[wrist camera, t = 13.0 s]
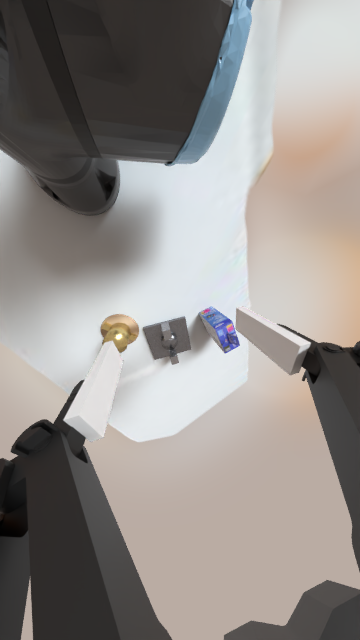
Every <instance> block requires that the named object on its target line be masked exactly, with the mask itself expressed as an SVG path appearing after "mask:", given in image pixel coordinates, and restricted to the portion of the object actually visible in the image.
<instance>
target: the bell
mask: <svg viewBox="0 0 360 640" xmlns="http://www.w3.org/2000/svg"><path fill="white" fill-rule="evenodd" d="M101 329H104V330H106V331H108V333H107V335H106V336H105V338H104V340H103V343H102V344H103V345H104V343H105V342H109V341H113V342H114V344H115V346H116V348H117V350H118V351H119V353H121V352H123V351H124V350H125V349H126V348H127V344H128V340H129V339H130V340H132V341H134V340H135V339H136V337H137V335H136V334H133V333H131V330H130V327H129V326H128V325H126V324H125V323H120V322H119V323H115V324H113V325H111V324H109V323H107V322H105V323H104V324H103V326H102V328H101Z"/></svg>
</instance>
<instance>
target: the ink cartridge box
mask: <svg viewBox="0 0 360 640" xmlns="http://www.w3.org/2000/svg"><path fill="white" fill-rule="evenodd" d="M199 315H200V317H201V319H202V321H203V323H204V326H205V328H206V330H207V332H208V333H209V335H210V336H211V337H212V338H213V340H214V341H215V342H216V343H217V345H218V346H219V347H220V348H221V349H222V351H223V352H224V353H227V352H229V351H231V350H233V349H235V348H236V347H238V346H240V344H239V341H238V337H237V335H236V332H235V329H234V326H233V323H232V321H231V320H230V319H228V318H227V317H226V316H224V315H223V314H222V313H220V312H219V311H217V310H216V309H215V308H213V307H209V308H207V309H205V310H203V311H201V312H200V313H199Z"/></svg>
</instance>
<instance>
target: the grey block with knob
mask: <svg viewBox="0 0 360 640" xmlns="http://www.w3.org/2000/svg"><path fill="white" fill-rule="evenodd" d="M143 329H144V331H145V334H146V337H147V339H148V342H149V345H150V347H151V350H152V352H153V355H154V358H155V360H156V359H159V358H163V357H166V356H170V359H171V363H172V365H173V364H177V363H179V361H178V357H177V353H180V352H184V351H187V350H190V349H191V347H190V341H189V336H188V330H187V325H186V319H185V316H184V317H180V318H177V319H173V320H169V321H165V322H161V323H157V324H154V325H150V326H146V327H144V328H143Z"/></svg>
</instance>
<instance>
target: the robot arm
mask: <svg viewBox="0 0 360 640" xmlns="http://www.w3.org/2000/svg"><path fill="white" fill-rule="evenodd" d="M253 1H254V0H0V150H2V151H3V152H4V153H6V154H7V155H9V156H10V157H12V158H13V159H14V160H16V161H17V162H19V163H20V164H21V165H23V166H24V167H25V168H26V170H27V171H28V172H29V174H30V175H31V176H32V178H33V179H34V180H35V181H36V182H37V184H38V185H39V186H40V187H41V188H42V189H43V190H44V191H45V192H46V193H47V194H48V195H49V196H51V197H52V198H53V199H54V200H56V201H57V202H59V203H60V204H62V205H63V206H65V207H67V208H68V209H70V210H72V211H75V212H77V213H80V214H84V215H97V214H101V213H103V212H105V211H106V210H108V209H109V208H110V207H111V206H112V205H113V203H114V202H115V200H116V198H117V195H118V192H119V186H120V173H119V166H118V161H117V160H122V161H136V162H149V163H163V164H165V165H166V166H172V165H174V164H192V163H195V162H197V161H198V160H199V159H200V158H201V157H202V156H203V155H204V154H205V153H206V152H207V150H208V149H209V147H210V146H211V144H212V142H213V140H214V138H215V136H216V134H217V132H218V130H219V128H220V125H221V123H222V120H223V118H224V115H225V112H226V110H227V107H228V104H229V101H230V98H231V96H232V92H233V89H234V86H235V83H236V80H237V76H238V73H239V70H240V66H241V63H242V59H243V55H244V51H245V47H246V43H247V39H248V35H249V31H250V26H251V22H252V16H251V12H250V10H251V7H252V4H253ZM236 330H237V331H238V332H240V333H241V334H242V335H243V336H244V337H245V338H247V339H248V340H249V341H250V342H251V343H252V344H254V345H255V346H256V347H257V348H258V349H259V350H261V351H262V352H263V353H264V354H265V355H267V356H268V357H269V358H270V359H271V360H272V361H274V362H275V363H276V364H277V365H278V366H279V367H281V368H282V369H283V370H284V371H285V372H287V373H288V374H289V375H293V374H295V373H299V371H300V369H301V366H302V367H303V368H305V369H306V371H305V373H304V375H303V378H302V381H305V378H307V382H308V384H309V387H310V390H311V394H312V397H313V400H314V403H315V406H316V409H317V412H318V416H319V419H320V422H321V425H322V428H323V431H324V434H325V437H326V441H327V444H328V447H329V450H330V453H331V456H332V460H333V463H334V466H335V469H336V472H337V475H338V479H339V482H340V485H341V488H342V491H343V494H344V498H345V501H346V504H347V507H348V510H349V513H350V517H351V520H352V545H353V549H354V553H355V557H356V560H357V564H358V567H359V571H360V341H359V342H357V343H356V345H355V346H354V347H350V348H342V347H340V346H338V345H335V344H332V343H324V342H323V343H317V342H315V341H313V340H311V339H310V338H308V337H306V336H304V335H302V334H300V333H297V332H296V331H294V330H292V329H290V328H288V327H286V326H284V325H280V324H275V323H273V322H271V321H269V320H268V319H266V318H264V317H262V316H260V315H258V314H257V313H255V312H253V311H251V310H249V309H247V308H245V307H244V306H242V307H238V308H236ZM123 361H124V360H123V359H122V357H121V355H120V353H119V351H118V350H117V348H116V346H115V344H114V342H113V341H109V342H105V343H104V345H103V346H102V348H101V350H100V352H99V354H98V356H97V358H96V360H95V361H94V363H93V365H92V367H91V369H90V371H89V373H88V375H87V376H86V378H85V380H81V381H80V382H79V383H78V384H77V385H76V386H75V388H74V389H73V391H72V393H71V394H70V396H69V398H68V400H67V402H66V403H65V405H64V407H63V408H62V410H61V412H60V414H59V415H58V417H57V418H56V420H55V422H54V424H52V423H51V422H50V421H48V420H40V421H38V422H36V423H35V424H33V425H31V426H30V427H29V428H28V429H26V430H25V431H24V432H23V433H22V434H21V435H20V436H19V437H18V439H17V440H16V441H15V443H14V445H13V446H12V449H11V452H12V453H14V454H17V455H18V456H17V457H15V458H14V459H12V460H10V461H8V460H6V459H4V458H2V459H0V640H21V633H22V626H23V619H24V612H25V606H26V599H27V592H28V586H29V579H30V578H31V600H32V620H33V621H32V622H33V640H172V639H171V637H170V635H169V634H168V632H167V630H166V629H165V628H164V627H163V626H162V624H161V623H160V622H159V621H158V619H157V617H156V615H155V613H154V610H153V608H152V606H151V603H150V601H149V598H148V597H147V594H146V591H145V589H144V586H143V584H142V582H141V579H140V577H139V574H138V572H137V570H136V567H135V565H134V563H133V560H132V558H131V555H130V553H129V551H128V548H127V546H126V543H125V541H124V539H123V536H122V534H121V531H120V529H119V527H118V524H117V522H116V519H115V517H114V515H113V512H112V510H111V508H110V505H109V503H108V500H107V498H106V496H105V493H104V491H103V488H102V486H101V484H100V481H99V479H98V477H97V474H96V472H95V469H94V467H93V464H92V462H91V460H90V457H89V455H88V453H87V450H86V448H85V447H84V446H83V444H84V442H85V439H88V440H89V441H90V442H93V441H95V440H99V439H102V438H104V434H105V430H106V427H107V423H108V419H109V415H110V411H111V407H112V403H113V400H114V396H115V392H116V388H117V384H118V380H119V376H120V372H121V369H122V365H123ZM224 640H360V590H358V589H355V588H352V587H349V586H345V585H342V584H339V583H336V582H332V581H329V580H326V581H325V582H323V583H321V584H319V585H317V586H315V587H313V588H311V589H310V590H308V591H306V592H304V593H303V595H302V597H301V599H300V601H299V603H298V604H297V606H296V608H295V610H294V612H293V614H292V615H291V618H290V619H289V621H288V623H287V624H286V625H285V626H279V625H273V624H267V623H262V622H256V621H250V622H248V623H246V624H244V625H242V626H240V627H238V628H237V629H235V630H233V631H231V632H229V633H227V634H226V635H224Z"/></svg>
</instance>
